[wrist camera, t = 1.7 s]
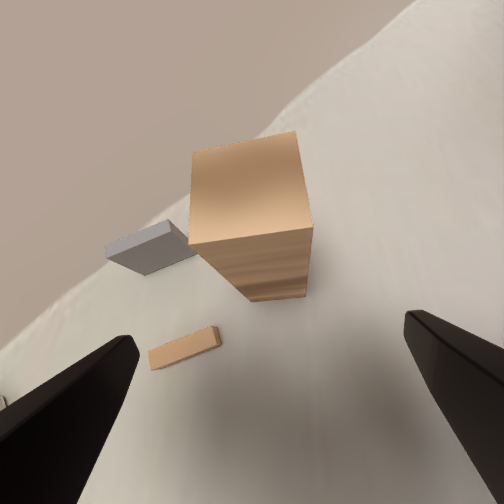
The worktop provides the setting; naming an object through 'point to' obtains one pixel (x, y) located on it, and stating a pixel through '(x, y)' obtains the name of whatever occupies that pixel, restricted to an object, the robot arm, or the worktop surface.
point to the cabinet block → (253, 216)
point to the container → (2, 404)
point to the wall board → (152, 259)
